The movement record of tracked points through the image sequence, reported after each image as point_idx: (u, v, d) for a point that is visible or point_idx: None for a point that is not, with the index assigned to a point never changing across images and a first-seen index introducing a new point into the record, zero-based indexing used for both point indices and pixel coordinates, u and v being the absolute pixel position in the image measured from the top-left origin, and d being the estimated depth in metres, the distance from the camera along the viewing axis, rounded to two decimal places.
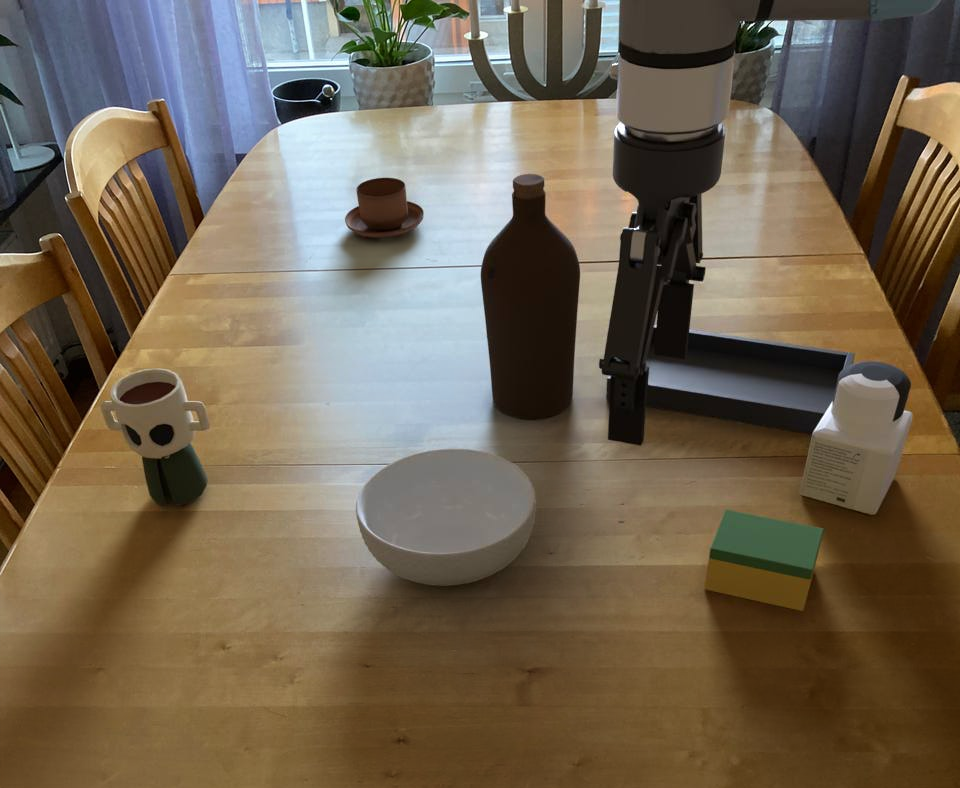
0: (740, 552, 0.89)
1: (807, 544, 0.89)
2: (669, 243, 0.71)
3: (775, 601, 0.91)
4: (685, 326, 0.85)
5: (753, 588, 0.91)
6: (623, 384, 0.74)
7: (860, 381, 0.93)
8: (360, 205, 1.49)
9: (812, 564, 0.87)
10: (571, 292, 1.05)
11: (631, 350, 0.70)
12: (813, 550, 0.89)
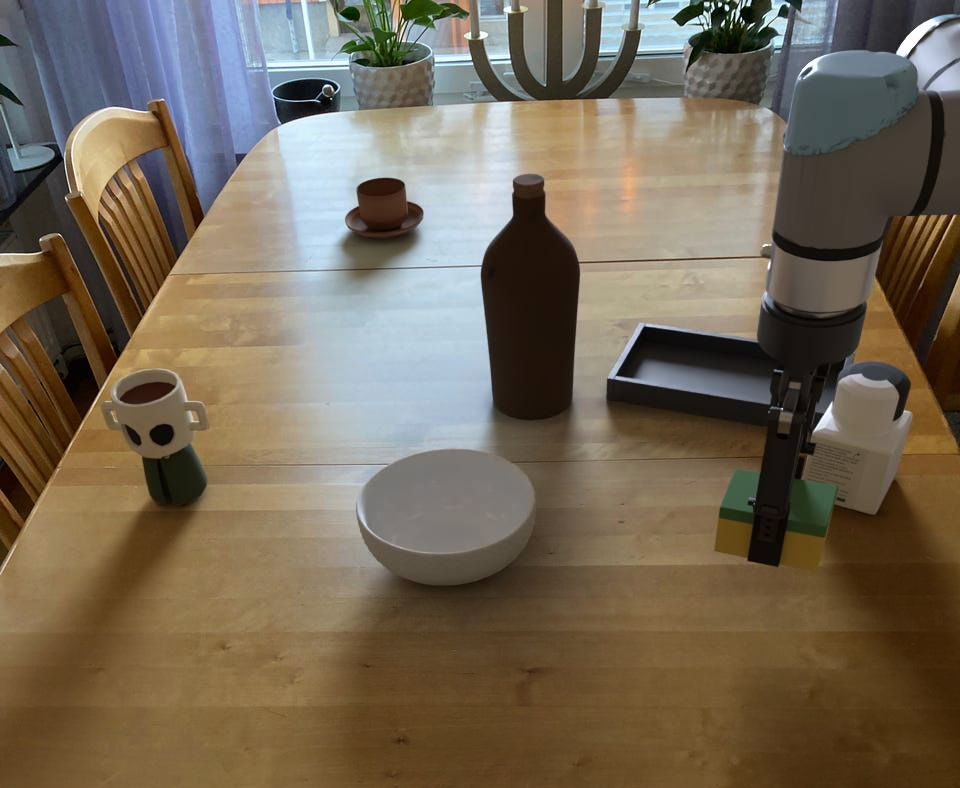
0: (750, 511, 0.85)
1: (821, 501, 0.86)
2: (810, 403, 0.77)
3: (788, 562, 0.87)
4: None
5: None
6: (768, 519, 0.83)
7: (860, 381, 0.93)
8: (360, 205, 1.49)
9: (826, 522, 0.84)
10: (571, 292, 1.05)
11: (780, 500, 0.79)
12: (827, 507, 0.85)
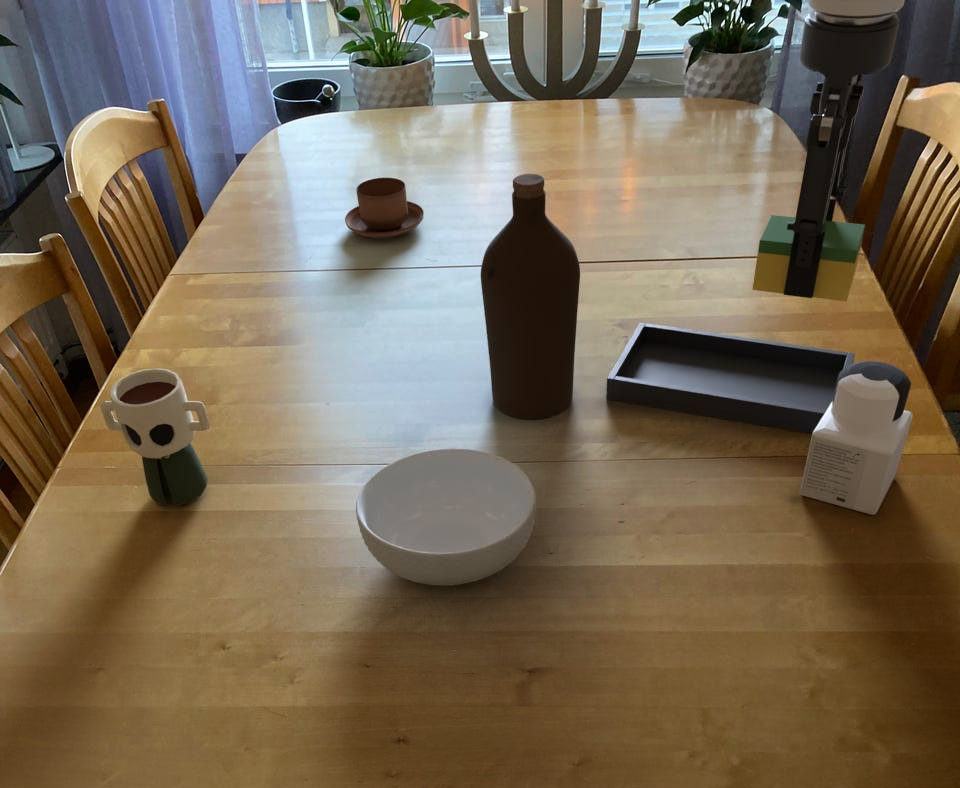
0: (787, 242, 0.95)
1: (850, 234, 0.95)
2: (846, 120, 0.86)
3: (820, 293, 0.96)
4: None
5: None
6: (805, 242, 0.92)
7: (860, 381, 0.93)
8: (360, 205, 1.49)
9: (856, 247, 0.93)
10: (571, 292, 1.05)
11: (818, 213, 0.88)
12: (856, 238, 0.94)
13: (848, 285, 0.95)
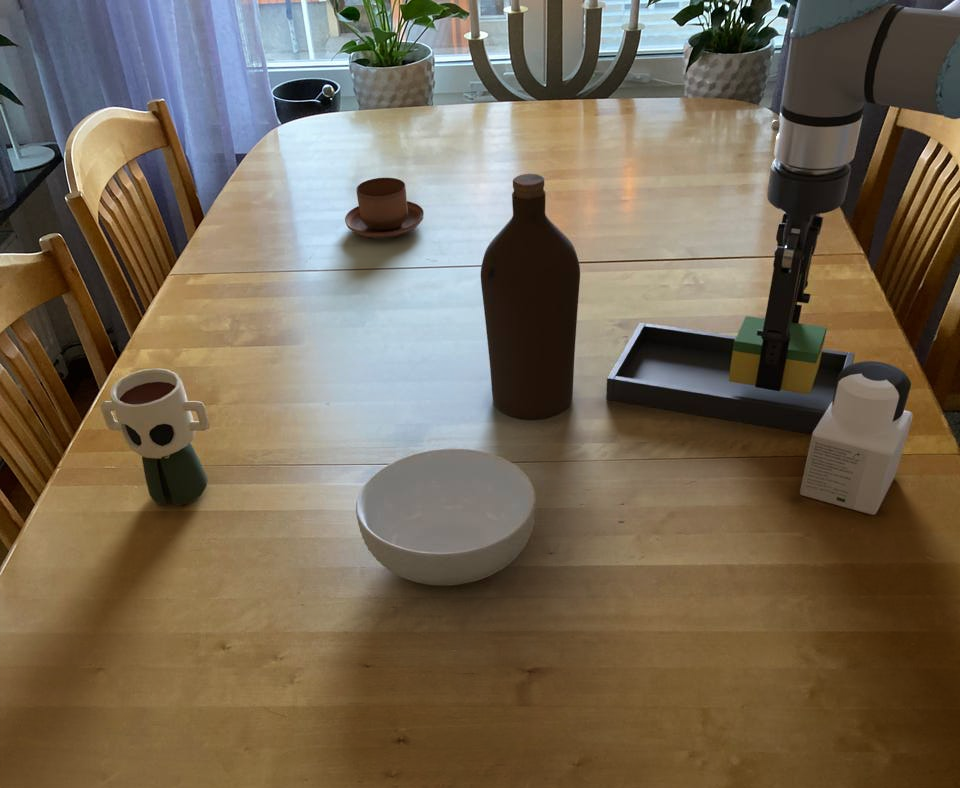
0: (758, 343, 1.09)
1: (813, 337, 1.09)
2: (806, 248, 1.01)
3: (787, 387, 1.11)
4: None
5: None
6: (773, 346, 1.07)
7: (860, 381, 0.93)
8: (360, 205, 1.49)
9: (817, 350, 1.07)
10: (571, 292, 1.05)
11: (782, 325, 1.03)
12: (818, 341, 1.09)
13: (810, 381, 1.09)
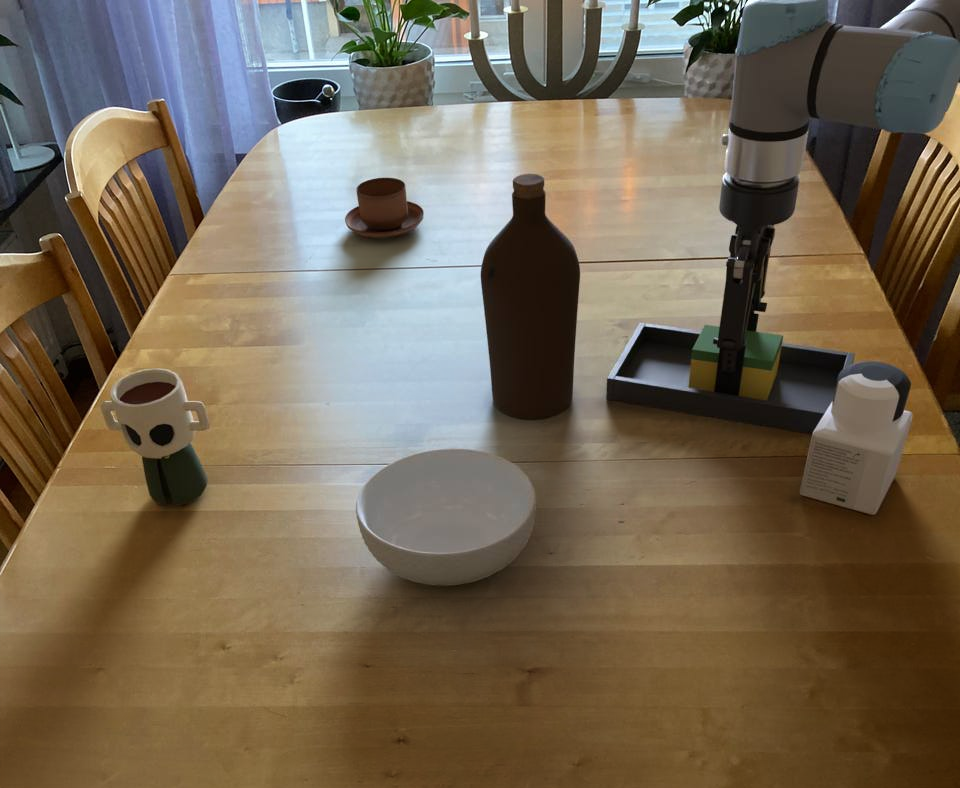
0: (715, 351, 1.11)
1: (769, 345, 1.12)
2: (758, 259, 1.03)
3: (744, 394, 1.13)
4: None
5: None
6: (729, 354, 1.09)
7: (860, 381, 0.93)
8: (360, 205, 1.49)
9: (772, 358, 1.10)
10: (571, 292, 1.05)
11: (736, 334, 1.05)
12: (774, 349, 1.11)
13: (767, 388, 1.12)
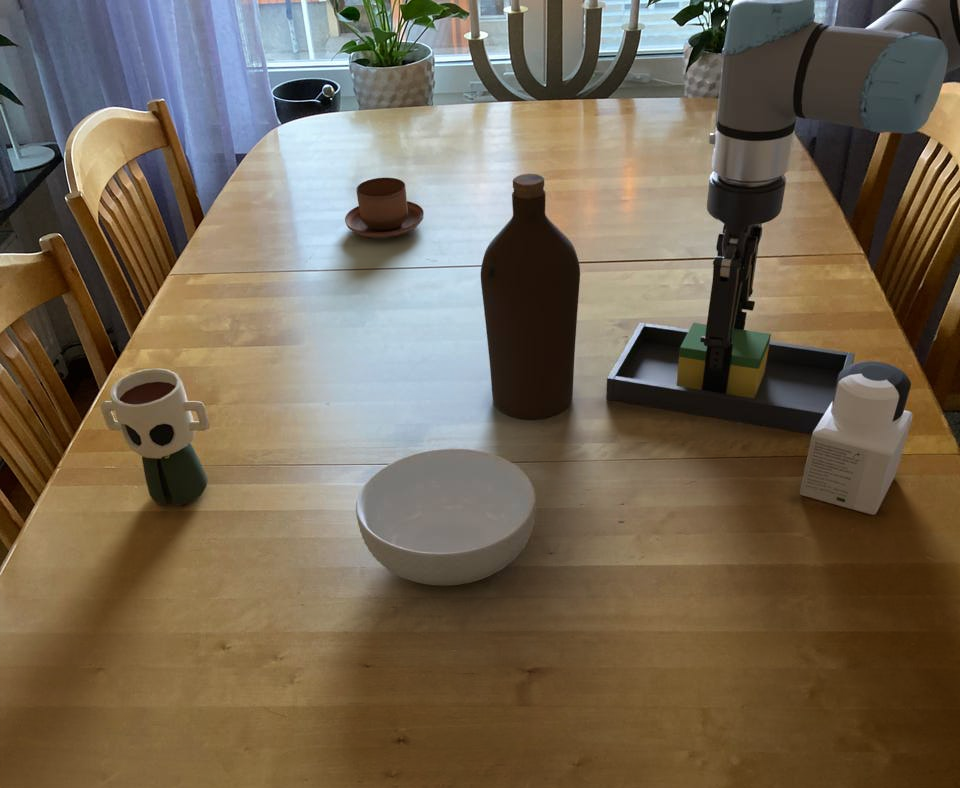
0: (703, 349, 1.12)
1: (757, 343, 1.12)
2: (745, 257, 1.04)
3: (732, 392, 1.14)
4: None
5: None
6: (716, 352, 1.09)
7: (860, 381, 0.93)
8: (360, 205, 1.49)
9: (759, 356, 1.10)
10: (571, 292, 1.05)
11: (723, 332, 1.06)
12: (761, 347, 1.12)
13: (754, 386, 1.12)
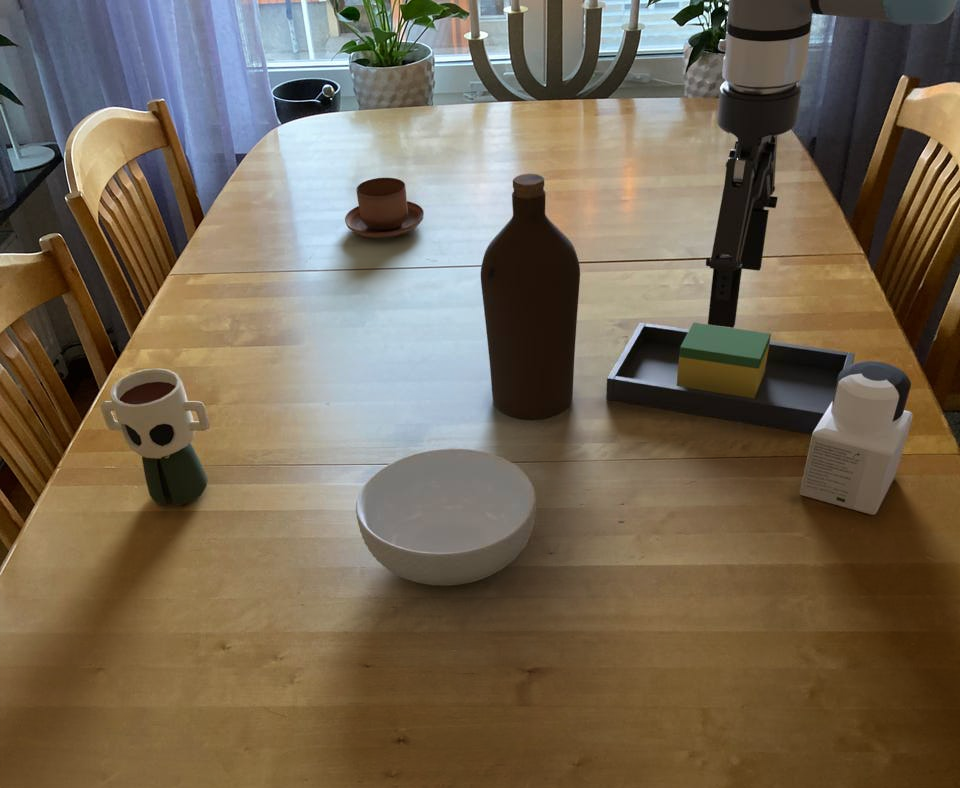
0: (703, 349, 1.12)
1: (757, 343, 1.12)
2: (759, 171, 0.97)
3: (732, 391, 1.14)
4: (761, 243, 1.11)
5: (715, 381, 1.14)
6: (723, 277, 1.00)
7: (860, 381, 0.93)
8: (360, 205, 1.49)
9: (759, 356, 1.10)
10: (571, 292, 1.05)
11: (732, 248, 0.96)
12: (761, 347, 1.12)
13: (754, 386, 1.12)
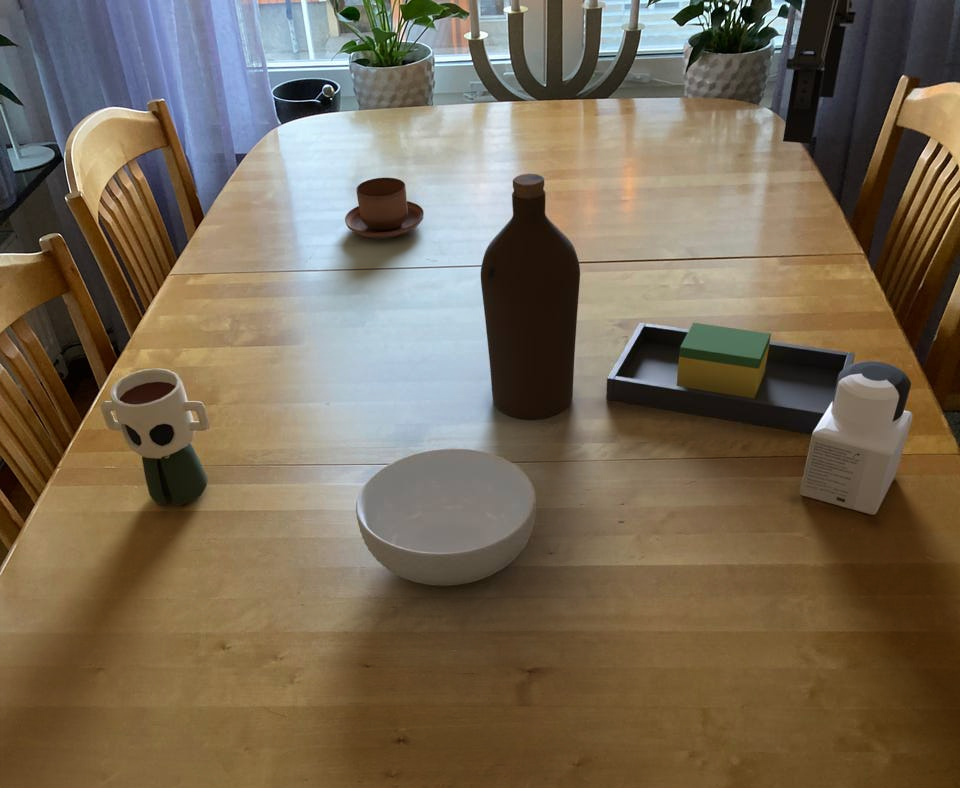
0: (703, 349, 1.12)
1: (757, 343, 1.12)
2: None
3: (732, 391, 1.14)
4: (836, 65, 1.04)
5: (715, 381, 1.14)
6: (804, 81, 0.93)
7: (860, 381, 0.93)
8: (360, 205, 1.49)
9: (759, 356, 1.10)
10: (571, 292, 1.05)
11: (818, 42, 0.90)
12: (761, 347, 1.12)
13: (754, 386, 1.12)
